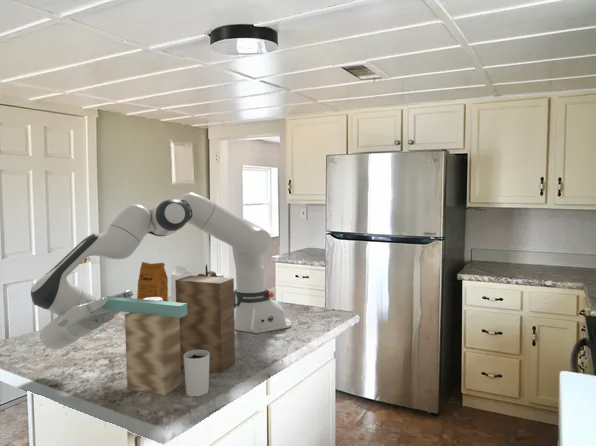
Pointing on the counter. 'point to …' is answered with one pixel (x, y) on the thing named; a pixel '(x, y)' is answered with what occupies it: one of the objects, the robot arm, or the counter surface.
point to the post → (208, 319)
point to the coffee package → (152, 281)
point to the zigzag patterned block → (152, 353)
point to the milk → (176, 275)
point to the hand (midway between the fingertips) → (118, 296)
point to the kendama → (208, 273)
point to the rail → (146, 306)
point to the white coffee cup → (196, 372)
